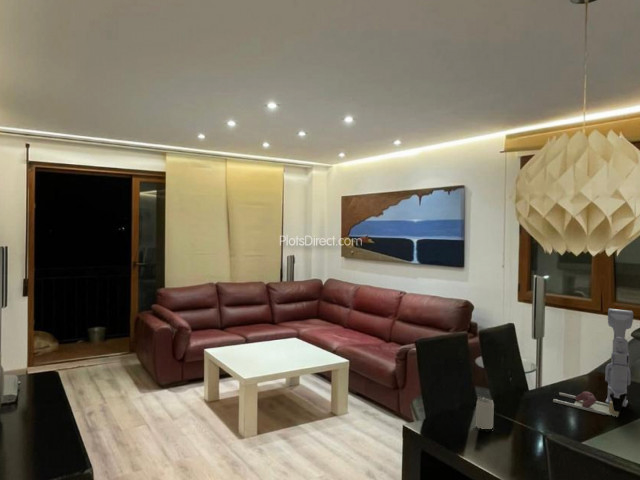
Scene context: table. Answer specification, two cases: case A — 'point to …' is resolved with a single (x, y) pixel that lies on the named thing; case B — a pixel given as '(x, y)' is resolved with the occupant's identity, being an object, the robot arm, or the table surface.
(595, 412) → the aluminium rails
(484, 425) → the can
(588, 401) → the purple lumpy piece
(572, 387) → the table surface
